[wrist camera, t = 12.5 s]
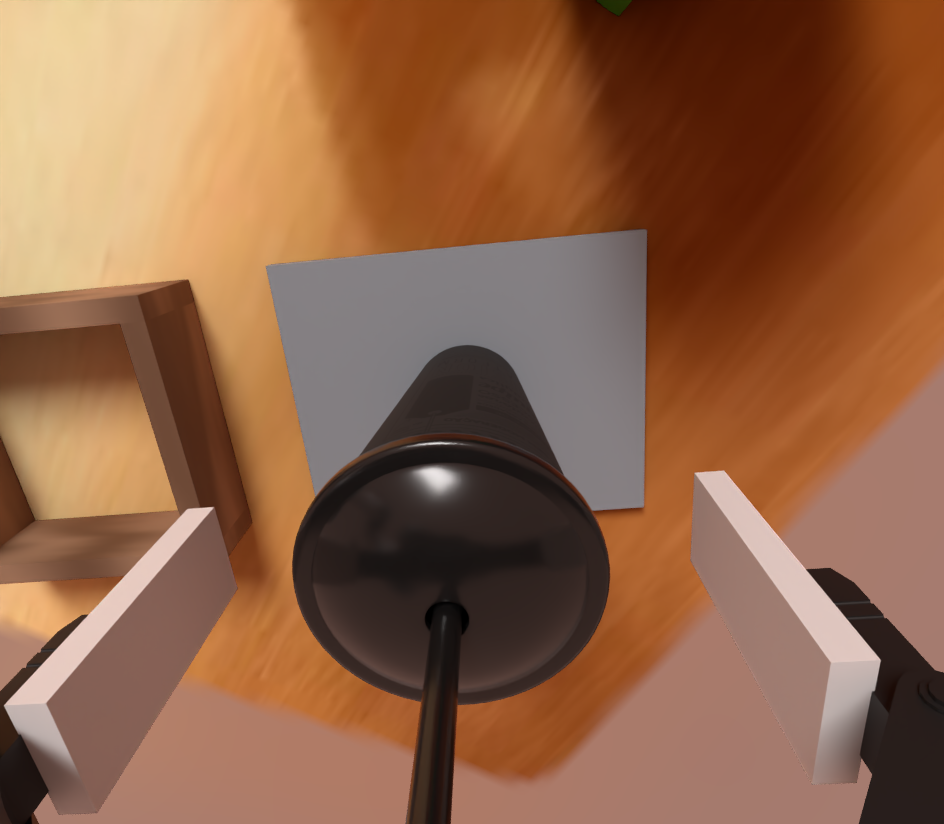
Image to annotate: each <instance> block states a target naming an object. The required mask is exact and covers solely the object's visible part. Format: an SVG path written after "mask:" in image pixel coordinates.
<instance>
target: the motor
mask: <svg viewBox="0 0 944 824" xmlns="http://www.w3.org/2000/svg"><path fill="white" fill-rule="evenodd" d="M596 1H597V2H599V3H600V4H601V5H602V6H603V7H605V8H606V9H608V10H609V11H611V12H612V13H614V14H616V15H617V16H620V14H621V13H622V12H623V11H624V10H625V8H626V7H627V6H628V5H629V4H630V3H631V1H632V0H596Z"/></svg>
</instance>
